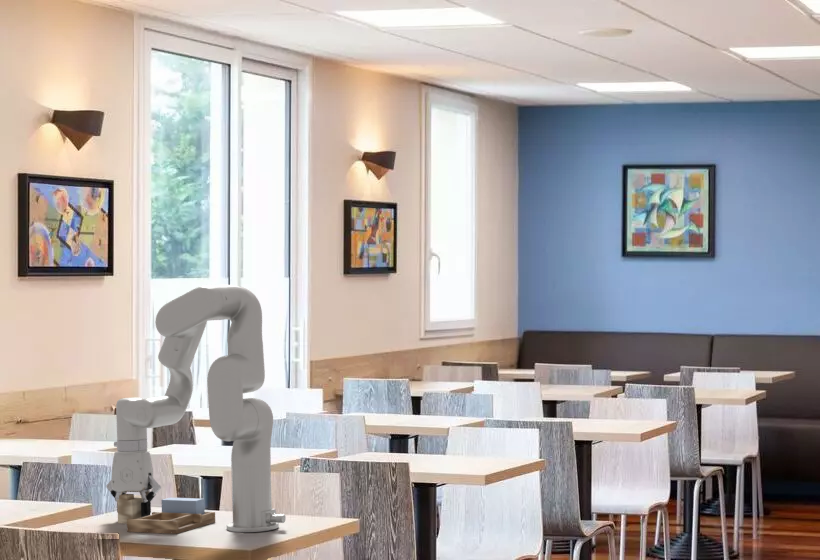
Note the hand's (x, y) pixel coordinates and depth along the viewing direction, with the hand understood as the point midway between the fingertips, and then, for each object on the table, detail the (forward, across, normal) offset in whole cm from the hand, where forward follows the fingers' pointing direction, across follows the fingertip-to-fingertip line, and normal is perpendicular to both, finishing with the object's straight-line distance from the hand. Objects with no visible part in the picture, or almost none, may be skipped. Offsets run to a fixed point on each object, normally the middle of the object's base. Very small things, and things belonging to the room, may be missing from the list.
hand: (134, 516), depth 366 cm
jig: (+1, +15, -6) cm, 16 cm away
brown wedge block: (+1, 0, 0) cm, 1 cm away
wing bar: (0, +15, 0) cm, 15 cm away
